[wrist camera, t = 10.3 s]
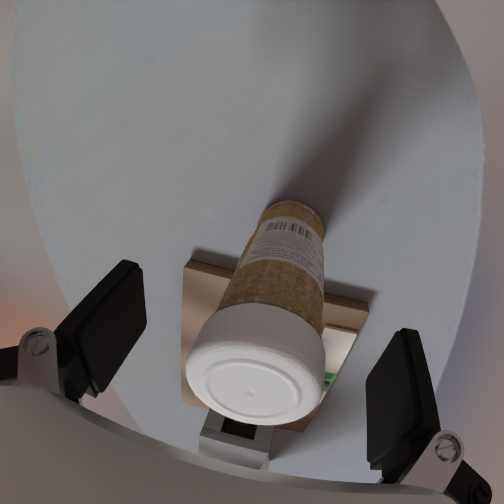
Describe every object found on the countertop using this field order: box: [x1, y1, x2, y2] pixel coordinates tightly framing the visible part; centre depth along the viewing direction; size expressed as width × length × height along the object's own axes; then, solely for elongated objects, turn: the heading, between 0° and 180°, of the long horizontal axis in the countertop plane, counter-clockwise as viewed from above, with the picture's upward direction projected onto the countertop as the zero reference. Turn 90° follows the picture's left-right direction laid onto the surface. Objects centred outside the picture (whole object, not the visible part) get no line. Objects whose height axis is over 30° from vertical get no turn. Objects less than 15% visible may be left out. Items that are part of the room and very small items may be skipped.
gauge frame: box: [181, 260, 369, 470], centre depth 23 cm, size 18×14×8 cm
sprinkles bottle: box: [185, 200, 326, 425], centre depth 15 cm, size 5×5×14 cm
